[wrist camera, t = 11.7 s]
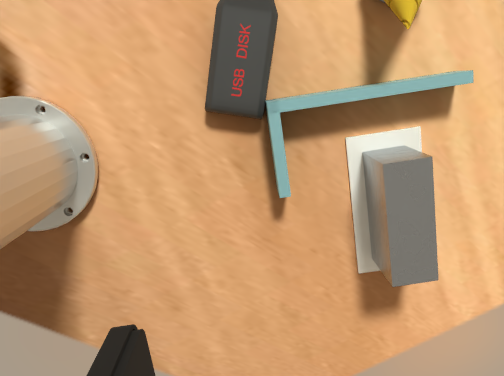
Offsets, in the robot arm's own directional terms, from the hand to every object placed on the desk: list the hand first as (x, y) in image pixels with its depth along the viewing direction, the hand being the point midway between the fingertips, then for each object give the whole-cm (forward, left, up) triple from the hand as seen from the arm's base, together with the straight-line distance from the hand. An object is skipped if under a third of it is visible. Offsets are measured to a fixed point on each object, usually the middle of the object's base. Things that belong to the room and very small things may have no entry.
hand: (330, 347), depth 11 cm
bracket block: (+11, -7, -30) cm, 32 cm away
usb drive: (-1, +10, -31) cm, 32 cm away
